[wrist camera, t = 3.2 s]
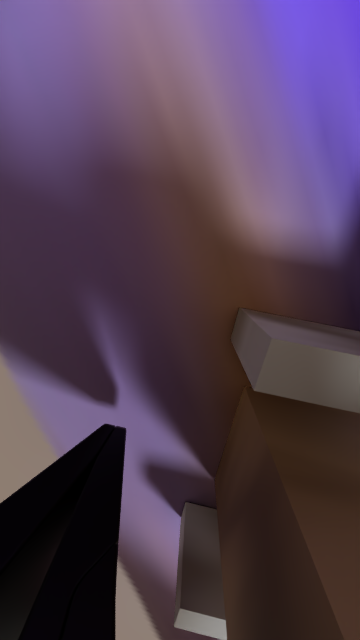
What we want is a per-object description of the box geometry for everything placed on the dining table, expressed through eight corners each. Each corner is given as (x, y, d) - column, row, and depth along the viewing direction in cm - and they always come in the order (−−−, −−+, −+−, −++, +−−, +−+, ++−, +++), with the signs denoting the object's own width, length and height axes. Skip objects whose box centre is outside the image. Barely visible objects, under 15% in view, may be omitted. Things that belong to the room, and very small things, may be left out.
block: (324, 503, 9) (580, 982, 3) (214, 478, 9) (246, 877, 3) (375, 413, 7) (1062, 976, 1) (244, 385, 7) (403, 788, 2)
